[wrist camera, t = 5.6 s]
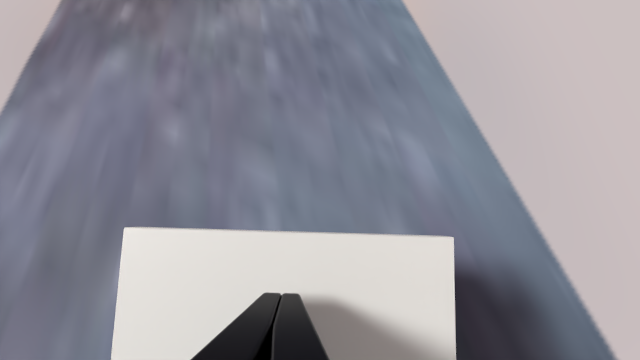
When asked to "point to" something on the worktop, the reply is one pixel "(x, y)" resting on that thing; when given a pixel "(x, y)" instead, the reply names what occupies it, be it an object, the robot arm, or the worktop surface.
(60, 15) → the worktop surface
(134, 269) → the lid
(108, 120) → the worktop surface
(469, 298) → the worktop surface
